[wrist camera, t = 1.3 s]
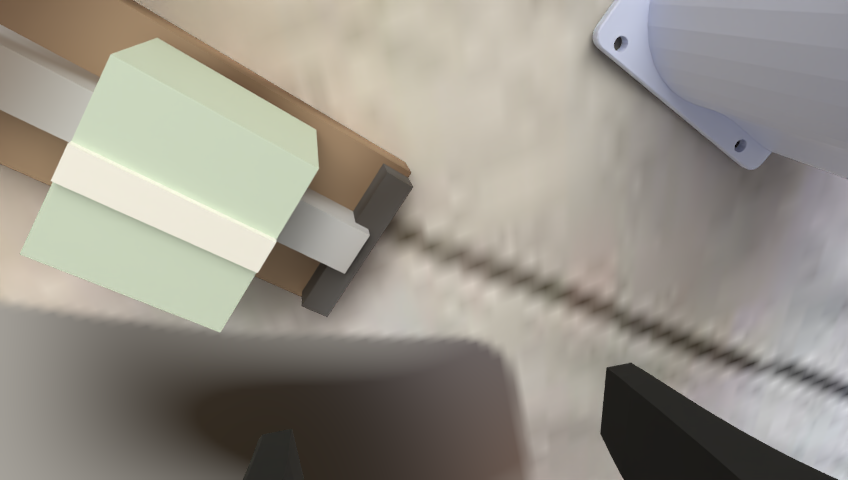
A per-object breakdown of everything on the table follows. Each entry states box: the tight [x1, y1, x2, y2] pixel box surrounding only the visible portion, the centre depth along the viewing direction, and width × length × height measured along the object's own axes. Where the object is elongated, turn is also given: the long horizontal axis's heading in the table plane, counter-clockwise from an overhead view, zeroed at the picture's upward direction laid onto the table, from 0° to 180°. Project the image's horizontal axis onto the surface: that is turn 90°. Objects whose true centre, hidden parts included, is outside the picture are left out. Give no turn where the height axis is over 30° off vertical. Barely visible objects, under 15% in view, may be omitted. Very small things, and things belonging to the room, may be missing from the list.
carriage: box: [20, 38, 319, 333], centre depth 15 cm, size 5×5×4 cm
